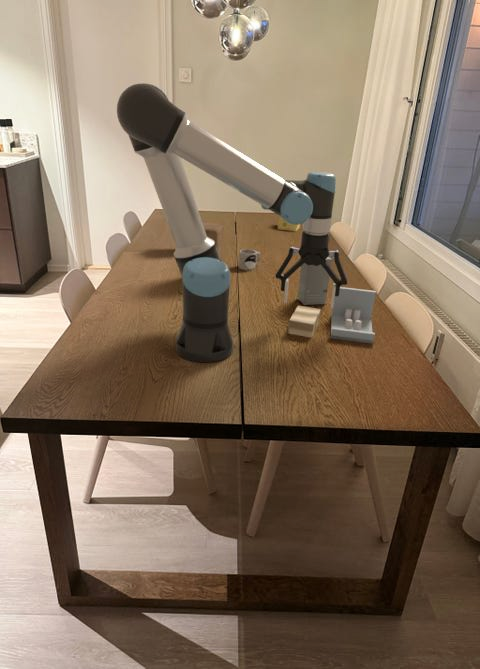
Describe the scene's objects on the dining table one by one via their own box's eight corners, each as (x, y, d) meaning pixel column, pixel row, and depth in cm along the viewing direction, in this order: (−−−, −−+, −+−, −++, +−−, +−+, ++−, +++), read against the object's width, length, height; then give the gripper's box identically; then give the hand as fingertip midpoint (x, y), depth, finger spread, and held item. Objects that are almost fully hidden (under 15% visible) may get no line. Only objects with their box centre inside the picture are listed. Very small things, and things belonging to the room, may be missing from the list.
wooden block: (215, 286, 173) (217, 230, 164) (188, 283, 174) (188, 227, 165) (221, 277, 182) (224, 224, 173) (196, 274, 183) (196, 221, 174)
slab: (311, 338, 140) (313, 324, 138) (287, 334, 142) (289, 320, 140) (318, 322, 150) (320, 309, 148) (296, 318, 152) (298, 305, 150)
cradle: (373, 343, 138) (379, 311, 134) (330, 338, 140) (335, 306, 136) (370, 320, 153) (375, 291, 149) (331, 316, 155) (336, 286, 150)
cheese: (277, 229, 253) (279, 210, 249) (281, 225, 262) (283, 206, 258) (297, 232, 251) (299, 212, 246) (300, 227, 260) (303, 208, 255)
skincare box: (303, 305, 161) (309, 259, 154) (295, 297, 167) (300, 253, 160) (327, 304, 163) (333, 258, 156) (318, 296, 169) (324, 252, 162)
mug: (245, 271, 189) (246, 254, 187) (235, 266, 194) (235, 250, 191) (264, 267, 195) (266, 251, 192) (254, 262, 200) (255, 247, 197)
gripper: (362, 232, 135) (351, 303, 144) (272, 225, 138) (267, 294, 148) (363, 239, 128) (352, 313, 137) (268, 231, 132) (264, 304, 141)
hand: (308, 303), depth 143 cm, fingers open, 13 cm apart
